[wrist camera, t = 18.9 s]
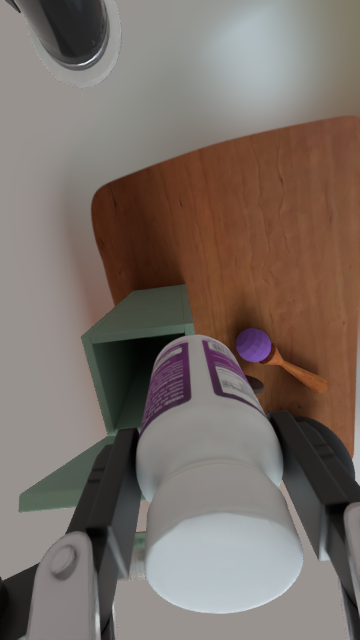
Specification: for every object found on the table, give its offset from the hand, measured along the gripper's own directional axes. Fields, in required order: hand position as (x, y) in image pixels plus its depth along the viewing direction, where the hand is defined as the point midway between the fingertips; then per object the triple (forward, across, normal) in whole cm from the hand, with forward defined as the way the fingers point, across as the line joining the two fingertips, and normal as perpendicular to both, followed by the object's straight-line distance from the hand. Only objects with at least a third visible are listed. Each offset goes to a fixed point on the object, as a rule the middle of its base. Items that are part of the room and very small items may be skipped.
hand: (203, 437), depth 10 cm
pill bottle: (+6, 0, 0) cm, 6 cm away
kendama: (+33, -16, +15) cm, 40 cm away
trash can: (+33, +4, +4) cm, 34 cm away
